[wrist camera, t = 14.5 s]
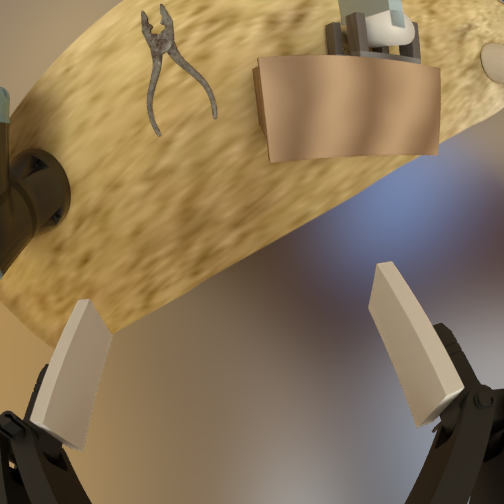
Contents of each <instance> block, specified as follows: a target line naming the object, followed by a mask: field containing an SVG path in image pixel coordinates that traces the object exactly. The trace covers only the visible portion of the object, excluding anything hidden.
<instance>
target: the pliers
mask: <svg viewBox="0 0 504 504" xmlns="http://www.w3.org/2000/svg"><path fill="white" fill-rule="evenodd" d="M160 13H161V15H162V19H161V24H163V25H165V29H164V30H163V31H162V32H161V34H160V35H157V34H152V33H151V29H152V28H153V26H152V25H150V24H149V23H148V18H147V16H146V14H145V12H144V11H141V19H142V33H143V35H144V37H145V39H146V41H147V43H148V45H149V47H150V49H151V54H152V58H153V70H152V75H151V80H150V84H149V89H148V95H147V110H148V115H149V119H150V122H151V124H152V127H153V129H154V131H155V132H156V134H157V135H158V136H161V132H160V130H159V128H158V127H157V124H156V122H155V119H154V115H153V109H152V100H153V95H154V91H155V87H156V83H157V80H158V77H159V74H160V70H161V64H162V54H163V53H165V52H167V53H168V54H169V55H170V56H171V58H172V59H173V60H174V61H175V62H176V63H177V64H178V65H179V66H180V67H182V68H183V69H184V70H186V71H187V72H188V73H189V74H191V75H192V76H193V77H194V78H195V79H196V80H198V81H199V82H200V83H201V84H202V86H203V87H204V89H205V90H206V92H207V94H208V96H209V99H210V101H211V106H212V113H213V118H214V119H216V118H217V106H216V102H215V98H214V95H213V93H212V90H211V88H210V86H209V85H208V83H207V82H206V80H205V79H204V78H203V77H202V76H201V75H200V74H199V73H198V72H197V71H196V70H195V69H194V68H193V67H192V66H191V65H190V64H188V63H187V62H186V61H185V60H184V58H183V57H182V56H181V55H180V53H179V52H178V50H177V47H176V45H175V42H174V33H173V21H172V19H171V17H170V16H169V14H168V12H167V11H166V9H165V8H164V6H163V4H160Z"/></svg>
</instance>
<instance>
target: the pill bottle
mask: <svg viewBox="0 0 504 504" xmlns="http://www.w3.org/2000/svg"><path fill="white" fill-rule="evenodd" d="M481 61H482V66H483V68H484V71H485V73H486V74H487V76H488V77H489V78H490V79H491V80H493V81H495V82H498V83H502V84H504V44H495V43H488V44H486V45H484V46H483V48H482V51H481Z"/></svg>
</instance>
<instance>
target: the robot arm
mask: <svg viewBox="0 0 504 504" xmlns="http://www.w3.org/2000/svg"><path fill="white" fill-rule="evenodd" d="M9 101H10V97H9V94H8V92H7V90H6V89H5V88H2V87H0V280H1V278H2V276H3V275H4V274H5V272H6V271H7V270H8V268H9V267H10V266H11V264H12V263H13V262H14V260H15V259H16V258H17V257H18V255H19V254H20V253H21V251H22V250H23V249H24V248H25V247H26V245H27V244H28V243H29V242H30V241H31V239H32V238H34V237H37V236H39V235H41V234H43V233H46V232H48V231H50V230H52V229H53V228H55V227H56V226H57V225H58V224H59V223H60V222H61V221H62V220H63V218H64V217H65V215H66V214H67V211H68V209H69V205H70V187H69V183H68V179H67V177H66V174H65V172H64V170H63V168H62V167H61V165H60V164H59V162H58V161H57V160H56V159H55V158H54V157H53V156H52V155H50V154H49V153H47V152H45V151H43V150H40V149H28V150H26V151H24V152H22V153H20V154H18V155H17V156H15V157H14V158H13V159H12V160H11V161H10V162H9V124H10V122H11V121H10V119H9ZM368 309H369V311H370V313H371V315H372V317H373V319H374V322H375V324H376V326H377V328H378V330H379V333H380V335H381V337H382V340H383V342H384V344H385V347H386V349H387V351H388V354H389V356H390V358H391V361H392V363H393V366H394V368H395V371H396V373H397V376H398V378H399V381H400V383H401V386H402V389H403V391H404V394H405V396H406V399H407V402H408V404H409V407H410V410H411V412H412V416H413V419H414V421H415V424H416V427H417V428H418V427H421V426H423V425H426V424H428V423H431V422H433V421H434V420H435V419H436V418H437V417H438V416H440V418H441V422H440V423H439V424H437V425H436V427H434V429H433V431H432V432H433V433H434V432H435V431H436V430H437V429H438V430H437V433H436V436H435V438H434V441H433V444H432V446H431V448H430V451H429V454H428V456H427V458H426V461H425V463H424V465H423V467H422V470H421V472H420V474H419V476H418V478H417V480H416V483H415V484H414V486H413V489H412V490H411V492H410V494H409V496H408V498H407V500H406V502H405V504H467V502H468V500H469V498H470V501H469V504H504V389H496V390H492V389H491V388H490V387H488V386H486V385H482V384H480V382H479V381H478V379H477V377H476V375H475V373H474V372H473V369H472V367H471V365H470V364H469V362H468V360H467V358H466V356H465V354H464V352H463V351H462V350H461V347H460V345H459V344H458V343H457V340H456V338H455V337H454V335H453V333H452V331H451V330H450V329H448V328H447V327H446V326H445V325H444V324H443V323H439V324H436V325H433V326H432V324H431V323H430V321H429V319H428V318H427V316H426V314H425V312H424V311H423V309H422V307H421V306H420V304H419V302H418V301H417V300H416V298H415V296H414V294H413V293H412V291H411V290H410V288H409V287H408V285H407V283H406V282H405V280H404V279H403V277H402V276H401V274H400V273H399V271H398V270H397V268H396V267H395V265H394V264H393V262H392V261H391V262H385V263H378V264H377V265H376V272H375V277H374V282H373V287H372V293H371V298H370V303H369V307H368ZM112 339H113V336H112V334H111V332H110V331H109V329H108V328H107V326H106V325H105V323H104V321H103V320H102V318H101V317H100V315H99V313H98V312H97V310H96V308H95V307H94V305H93V303H92V301H91V300H90V299H83V300H78V301H77V303H76V305H75V307H74V309H73V311H72V313H71V315H70V317H69V320H68V322H67V324H66V326H65V328H64V330H63V333H62V335H61V337H60V339H59V342H58V344H57V346H56V349H55V351H54V353H53V356H52V358H51V361H50V363H49V364H46V365H45V367H44V368H43V369H42V370H41V372H40V374H39V377H38V379H37V384H35V387H34V392H33V393H32V395H31V398H30V401H29V405H28V407H27V410H26V413H25V417H24V419H23V420H21V419H20V418H19V417H18V416H16V415H15V414H14V413H13V412H11V411H5V412H3V413H2V414H1V415H0V504H92V503H91V502H90V500H89V498H88V496H87V494H86V492H85V491H84V489H83V487H82V485H81V483H80V481H79V479H78V477H77V475H76V473H75V471H74V469H73V467H72V465H71V463H70V461H69V458H68V456H67V454H66V452H65V450H64V449H63V448H62V443H63V444H65V445H66V446H68V447H69V448H72V449H76V450H80V451H84V447H85V442H86V437H87V432H88V428H89V423H90V419H91V414H92V410H93V406H94V402H95V398H96V394H97V390H98V387H99V383H100V379H101V376H102V372H103V368H104V365H105V362H106V358H107V355H108V352H109V348H110V345H111V342H112ZM9 461H10V462H12V463H14V465H15V466H14V469H13V468H11V467H9ZM470 495H471V496H470Z"/></svg>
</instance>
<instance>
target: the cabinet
mask: <svg viewBox="0 0 504 504" xmlns="http://www.w3.org/2000/svg"><path fill="white" fill-rule="evenodd" d="M345 19H346V26H347V34H348V44H349V54H350V55H344V53H343V43H342V34H341V26H340V23H336V22H332V23H330V24H328V25H326V34H327V43H328V52H329V55H292V56H273V57H260V58H257V61H258V67H256V68H254V69H252V70H253V77H254V85H255V93H256V101H257V109H258V118H259V125H260V126H261V128H262V130H263V132H264V134H265V136H266V138H267V146H268V156H269V161H270V163H275V162H284V161H294V160H305V159H318V158H332V157H349V156H372V155H438V146H439V132H440V110H441V77H440V68H437V67H432V66H427V65H421V56H420V44H419V34H418V25H417V23H415V22H412V23H413V25H414V29H415V36H414V39H413V40H412V42H411V43H409V44H407V45H399V50H400V55H393V54H389V48H388V46H384V47H374V48H372V51H373V52H369V47H368V37H367V28H366V20H365V13H360V12H354V13H352V14H350V15H347V16H345Z"/></svg>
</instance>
